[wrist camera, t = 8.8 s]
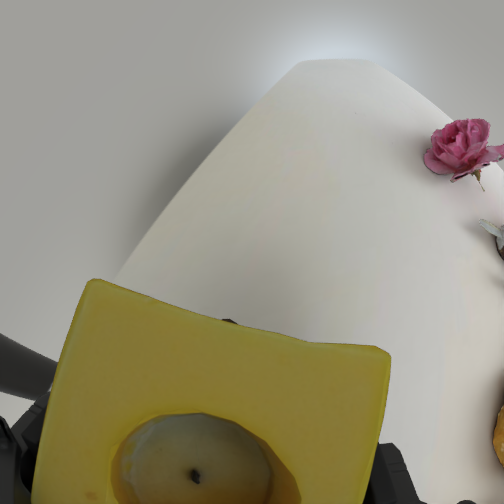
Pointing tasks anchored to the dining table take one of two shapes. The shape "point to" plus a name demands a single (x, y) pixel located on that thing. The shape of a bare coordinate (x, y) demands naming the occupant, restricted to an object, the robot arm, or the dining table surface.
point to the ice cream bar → (501, 235)
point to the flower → (462, 149)
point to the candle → (204, 410)
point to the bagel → (499, 436)
